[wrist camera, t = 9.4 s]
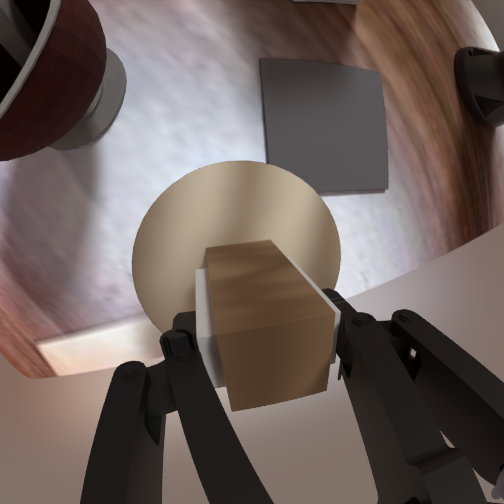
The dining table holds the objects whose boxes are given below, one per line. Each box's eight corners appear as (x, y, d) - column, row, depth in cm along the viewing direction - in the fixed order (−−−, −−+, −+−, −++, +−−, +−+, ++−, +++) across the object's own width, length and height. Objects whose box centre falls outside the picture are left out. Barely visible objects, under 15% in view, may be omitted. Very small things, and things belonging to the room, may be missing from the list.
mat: (377, 73, 26) (380, 72, 25) (386, 188, 31) (388, 189, 30) (259, 60, 24) (260, 58, 23) (270, 195, 29) (271, 196, 28)
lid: (333, 156, 17) (447, 163, 8) (330, 331, 22) (392, 416, 13) (118, 177, 15) (30, 201, 6) (161, 360, 20) (153, 469, 11)
